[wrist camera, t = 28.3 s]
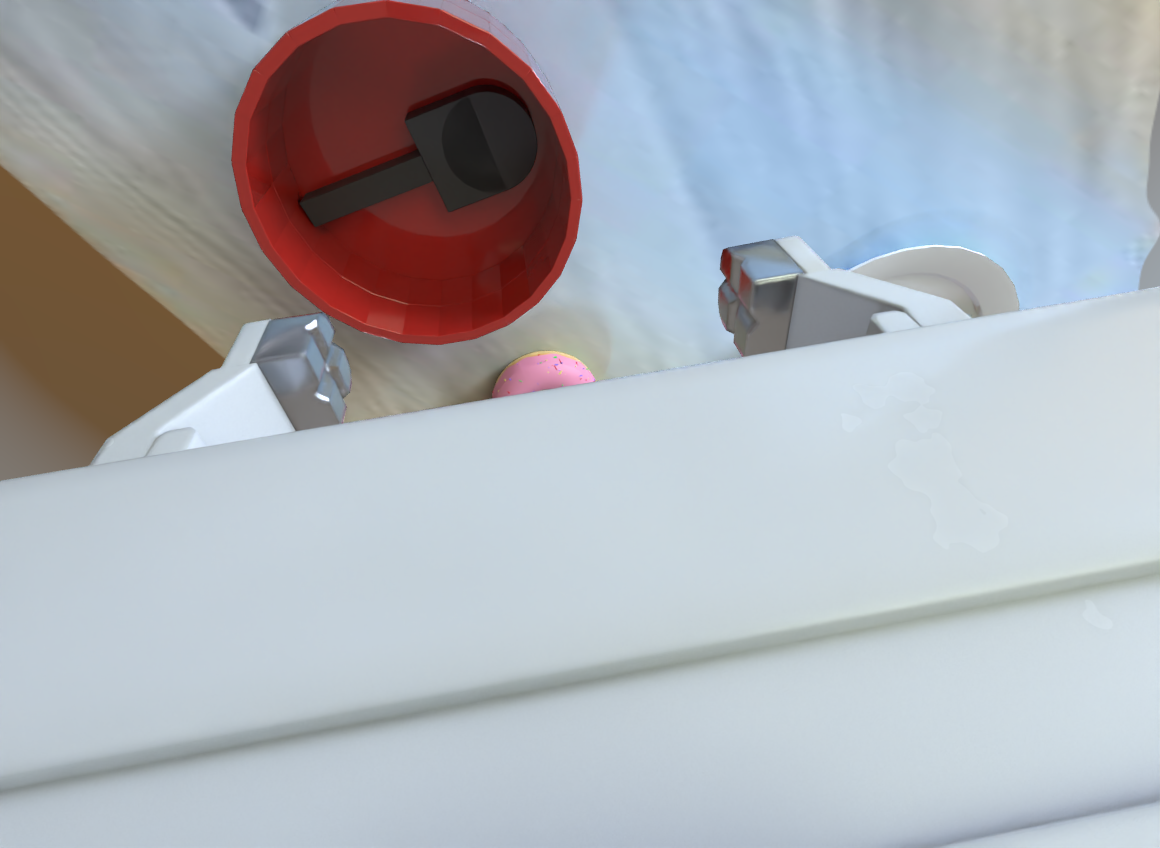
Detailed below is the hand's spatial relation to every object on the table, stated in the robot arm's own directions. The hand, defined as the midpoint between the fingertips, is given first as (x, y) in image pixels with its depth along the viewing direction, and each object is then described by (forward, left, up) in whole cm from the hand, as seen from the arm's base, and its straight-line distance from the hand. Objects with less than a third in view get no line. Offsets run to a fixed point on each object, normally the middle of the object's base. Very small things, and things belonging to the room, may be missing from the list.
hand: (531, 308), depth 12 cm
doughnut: (+15, -28, -39) cm, 50 cm away
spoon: (-2, -10, -38) cm, 39 cm away
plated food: (+49, -14, -39) cm, 64 cm away
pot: (-2, -10, -39) cm, 40 cm away
